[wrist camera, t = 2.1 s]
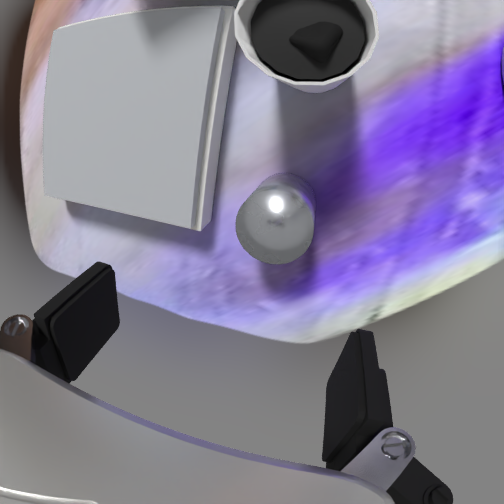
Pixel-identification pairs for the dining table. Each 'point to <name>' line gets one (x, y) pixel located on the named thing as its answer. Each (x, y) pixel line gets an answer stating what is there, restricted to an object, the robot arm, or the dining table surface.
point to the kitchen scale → (139, 111)
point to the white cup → (307, 39)
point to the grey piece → (277, 219)
